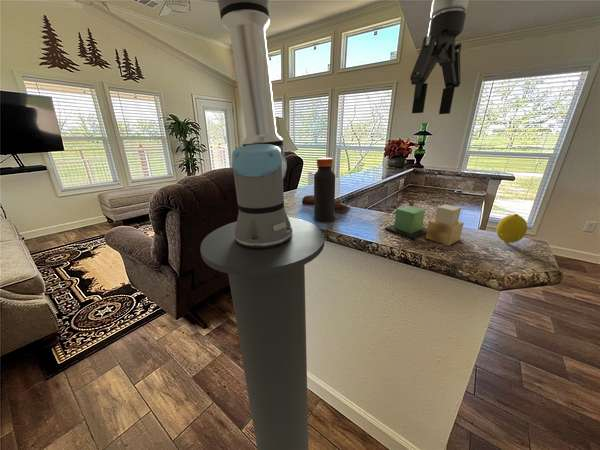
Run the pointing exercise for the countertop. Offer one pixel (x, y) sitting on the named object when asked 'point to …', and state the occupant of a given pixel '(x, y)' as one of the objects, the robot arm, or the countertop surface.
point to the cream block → (447, 214)
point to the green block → (409, 219)
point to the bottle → (324, 190)
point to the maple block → (444, 232)
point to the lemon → (511, 228)
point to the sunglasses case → (337, 205)
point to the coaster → (403, 233)
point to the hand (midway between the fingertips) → (431, 113)
